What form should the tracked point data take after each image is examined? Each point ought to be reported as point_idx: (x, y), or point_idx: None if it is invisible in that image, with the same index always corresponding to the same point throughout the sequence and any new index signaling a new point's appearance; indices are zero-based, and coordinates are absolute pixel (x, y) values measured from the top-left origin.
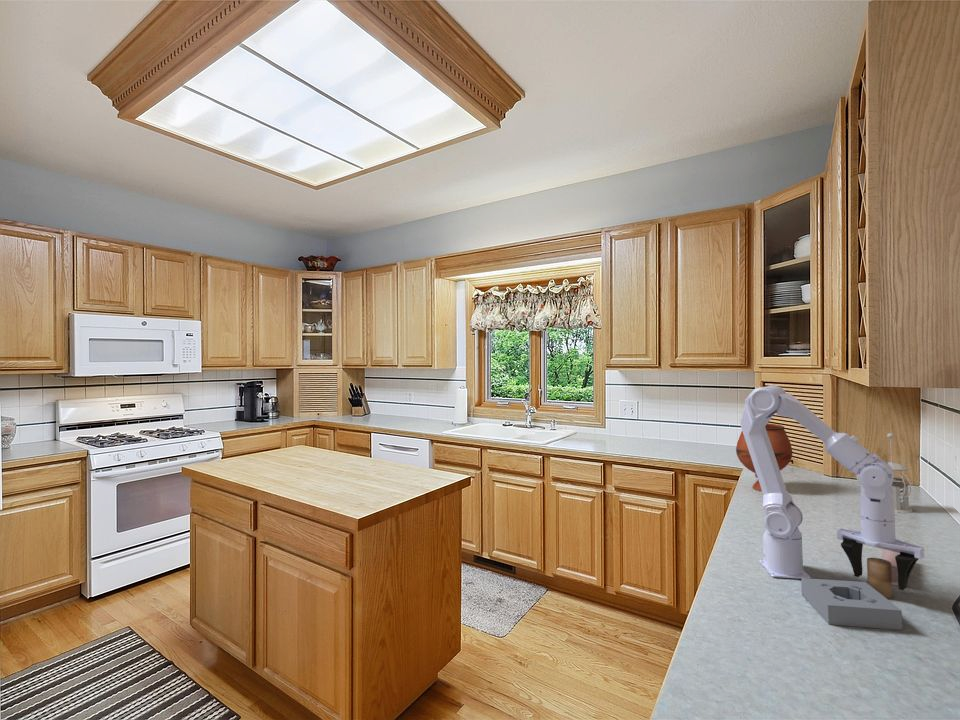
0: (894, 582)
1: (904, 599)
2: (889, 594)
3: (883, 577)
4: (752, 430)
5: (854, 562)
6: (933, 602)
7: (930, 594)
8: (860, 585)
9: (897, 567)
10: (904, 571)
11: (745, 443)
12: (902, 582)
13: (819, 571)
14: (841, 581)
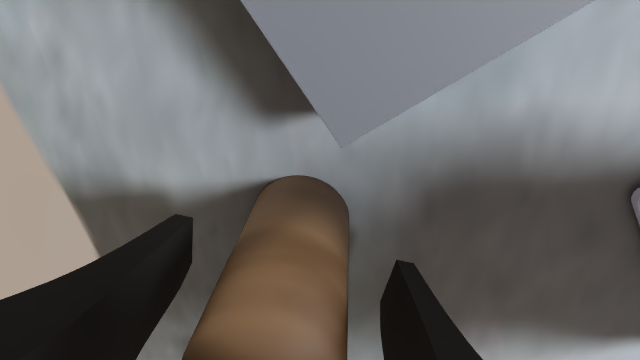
0: None
1: (213, 225)
2: (254, 206)
3: (247, 251)
4: None
5: (432, 331)
6: None
7: (166, 321)
8: (365, 41)
9: (85, 309)
10: (53, 286)
11: None
12: (140, 235)
13: (559, 317)
14: (515, 22)
